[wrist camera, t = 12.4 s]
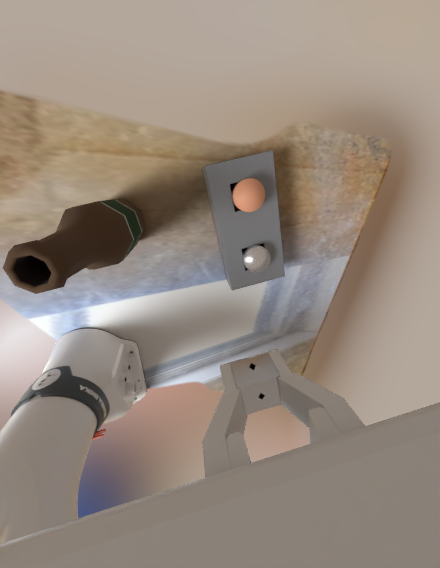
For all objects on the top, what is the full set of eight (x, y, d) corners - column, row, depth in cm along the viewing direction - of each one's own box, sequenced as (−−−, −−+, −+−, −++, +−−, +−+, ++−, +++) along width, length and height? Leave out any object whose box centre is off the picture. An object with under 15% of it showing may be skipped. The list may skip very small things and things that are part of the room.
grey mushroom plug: (260, 258, 42) (271, 268, 36) (238, 264, 42) (247, 275, 36) (256, 236, 40) (268, 243, 34) (234, 242, 40) (242, 250, 34)
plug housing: (274, 267, 44) (284, 276, 39) (226, 279, 43) (231, 290, 39) (261, 155, 35) (272, 150, 31) (202, 169, 35) (205, 166, 30)
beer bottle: (95, 193, 34) (-61, 198, 12) (147, 202, 35) (93, 221, 14) (97, 242, 37) (-27, 318, 15) (145, 248, 38) (97, 325, 16)
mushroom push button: (254, 205, 37) (266, 208, 31) (229, 211, 37) (237, 215, 31) (250, 177, 35) (262, 174, 29) (223, 183, 35) (231, 182, 29)
